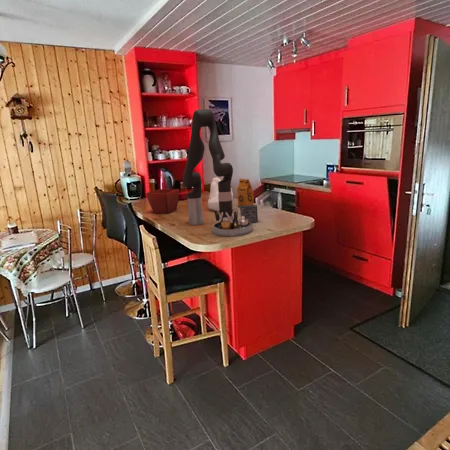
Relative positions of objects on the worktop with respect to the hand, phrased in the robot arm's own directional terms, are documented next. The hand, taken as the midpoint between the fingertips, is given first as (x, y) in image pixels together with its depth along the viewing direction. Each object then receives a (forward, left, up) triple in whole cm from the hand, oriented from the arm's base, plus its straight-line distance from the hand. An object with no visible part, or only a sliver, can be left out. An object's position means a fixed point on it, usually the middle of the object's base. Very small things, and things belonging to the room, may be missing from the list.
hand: (227, 228), depth 193 cm
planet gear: (0, 0, -1) cm, 1 cm away
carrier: (-3, +6, -3) cm, 7 cm away
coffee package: (-55, +53, -4) cm, 77 cm away
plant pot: (-89, -1, -4) cm, 89 cm away
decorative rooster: (-58, +32, -4) cm, 67 cm away
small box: (-14, +26, -4) cm, 30 cm away
